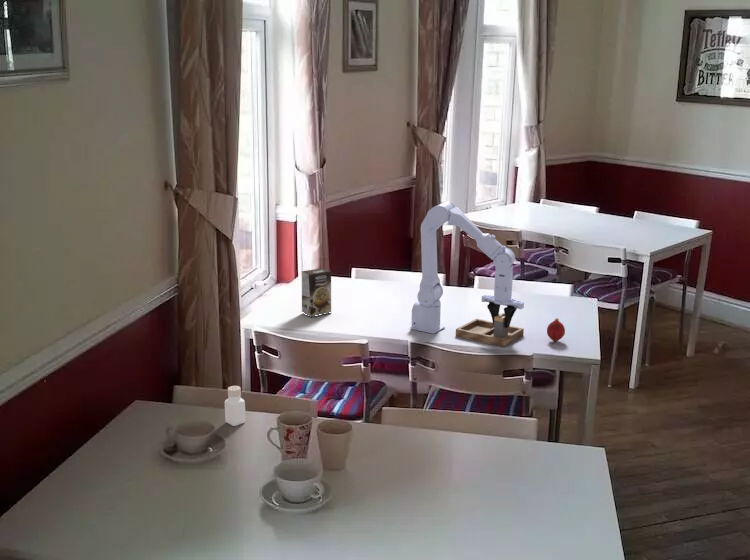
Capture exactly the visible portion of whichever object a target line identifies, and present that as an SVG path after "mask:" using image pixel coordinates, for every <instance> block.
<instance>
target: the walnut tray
mask: <svg viewBox="0 0 750 560" xmlns="http://www.w3.org/2000/svg"><path fill="white" fill-rule="evenodd" d="M524 329H525V328H523V327H518V326H513V325H510V326H509V327H508V336H506V337H504V338H499V337H494V325H493V321H488V320H485V319H480V318H475V319H473V320H471V321H469V322H467V323H465V324H463V325H462V326H458V327H457V328H456V329H455V337H458V338H461V339H467V340H471V341H475V342H479V343H484V344H487V345H488V344H489V345H492V346H497V347H500V348H501V347H502V348H505V347H508V346H509V345H511V344H512V343H514V342H516V341H517V340H519V339H520V338H522V337H524V332H525V331H524Z"/></svg>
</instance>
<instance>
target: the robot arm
mask: <svg viewBox="0 0 750 560" xmlns="http://www.w3.org/2000/svg"><path fill="white" fill-rule="evenodd" d="M445 223H447V224H446V225H447V226H455V227H456V226H457V227H459V228H460V229H461V230H462V231H463V232H465V233H466V234H467V235H468V236H469V237H471V238H472V239H474V240H475V242H476V247H477V248H478V249H479V250H480V251H481V252H483V254H485V255H486V256H487V257H488V258H489V259H490V260H492V262H493V265H494V267H495V272H494V289H493V290H494V291H493V295H487V294H484V295H481V302H482V303H485V302H486V303H488V304H487V306H486V308H487V309H488V311H489V313H490V317H491V320H492V322H493V325H494V317H495V316H497V315H499V314H500V308H501V306H505V307H504V308H503V311H504V313H505V328H508V327H509V326H511V322H512V319H513V316H514V315H515V313H516V312H517V309H518V310H523V309H524V308H525V302H524V301H520V300H517V299H515V298H512V296H513V295H512V294H513V279H514V278H513V275H514V273H513V270H514V265H513V264H514V262H515V260H516V255H515V253H514V251H513V250H512V249H511V248H507V246H506V245H502V244H501V243H500V241H498V240H497V239H496V235H494V234H490V233H483V231H481V230H480V228H479V227H478V226H476V224H475V223H473V221H472V220H471V219H470V218H469V217H468V216H467V215H466V214H464V212H463V211H462V210H461V209H460V208H459V207H458V206H455V204H454V203H453V202H452V201H447V200H446V201H445V200H444V201H442V202H441V203H440V204H438V205H434V206H433V207H432V208H430V209H429V210H428V211H427V214H426V215H425V217H424V219H423V220H422V222H421V224H420V244H421V247H420V249H421V253H420V254H421V275H422V276H421V277H422V278H421V280H420V283H419V290H418V292H417V294H416V295H417V296H416V297H417V301H416V302H415V303H414V304H413V305H412V308H411V326H410V328H409V329H411V330H416V331H420V332H422V333H423V332H424V333H427V334H428V333H429V334H436V333H437V332H440V331H441V330H443V329H445V328H446V326H444V325H441V303H442V302H441V301H440V300H441V298H442V296H443V293H444V289H443V286H442V284H441V279H440V277H439V275H438V273H439V272H438V242H437V239H438V238H437V230H438V229H440V227H441V226H443V225H444V224H445Z"/></svg>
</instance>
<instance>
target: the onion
mask: <svg viewBox="0 0 750 560" xmlns="http://www.w3.org/2000/svg"><path fill="white" fill-rule="evenodd" d="M546 334H547V336H548V338H549V339H550V340H551V341H553V342H555V343H556V342H558V341H559V340H561V339H562V338H563V337H564V336H565V334H566V329H565V326H564V324H563V323H562V322H561V321H560V319H559V318H557V317H556V318H554V320H553V321H552V322H550V323H549V324H548V325H547V328H546Z"/></svg>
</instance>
